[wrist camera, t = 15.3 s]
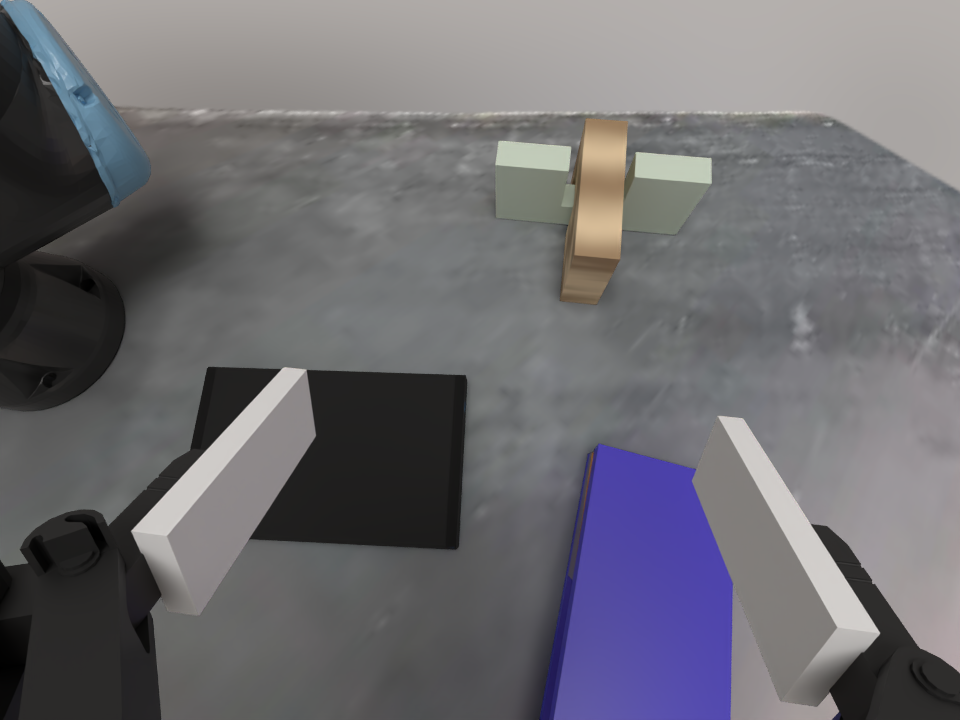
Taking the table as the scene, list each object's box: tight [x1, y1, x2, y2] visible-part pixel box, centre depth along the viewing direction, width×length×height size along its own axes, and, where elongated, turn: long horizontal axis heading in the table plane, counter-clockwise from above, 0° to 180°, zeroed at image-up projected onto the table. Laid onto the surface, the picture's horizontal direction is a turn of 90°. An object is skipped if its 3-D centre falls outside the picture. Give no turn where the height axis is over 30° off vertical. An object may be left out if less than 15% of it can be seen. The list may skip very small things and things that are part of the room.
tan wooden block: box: [560, 118, 628, 305], centre depth 42 cm, size 13×4×9 cm, turn 173°
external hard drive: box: [190, 367, 467, 549], centre depth 40 cm, size 14×23×3 cm, turn 88°
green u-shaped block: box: [495, 141, 711, 235], centre depth 43 cm, size 18×2×8 cm, turn 83°
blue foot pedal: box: [539, 444, 733, 720], centre depth 32 cm, size 12×28×10 cm, turn 166°
